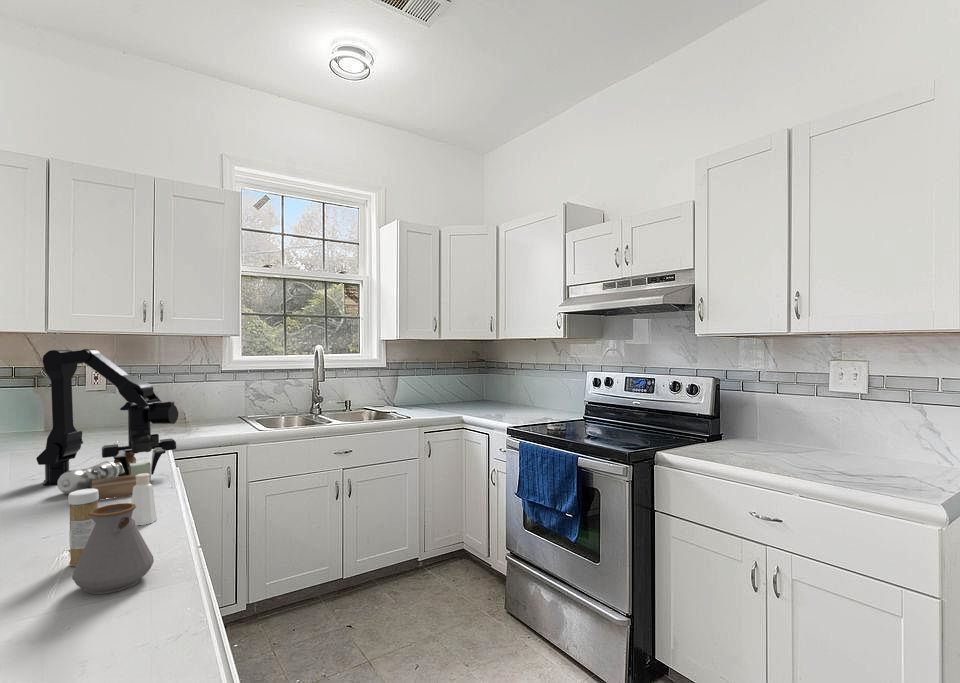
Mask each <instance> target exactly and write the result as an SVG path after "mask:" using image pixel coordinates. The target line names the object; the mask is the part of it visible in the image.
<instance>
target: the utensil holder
mask: <svg viewBox="0 0 960 683" xmlns="http://www.w3.org/2000/svg"><path fill="white" fill-rule="evenodd" d="M116 443H118V444H119V445H118V446H121V447H122V446H124V444H123V442H119V440H116V441H115V442H114V443H113V445H114V444H116ZM125 455H126V459H127V465H128V471H129V475H130V464H133V463H137V459H136V456H135V455H136V453H132V452H125ZM113 462H114V463H118V462H120V461H119V459H113ZM119 476H126V473H125V472H124V473H122V474H120V475H118V476H117V477H119Z"/></svg>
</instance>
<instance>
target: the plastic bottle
mask: <svg viewBox="0 0 960 683" xmlns="http://www.w3.org/2000/svg"><path fill="white" fill-rule="evenodd" d="M124 472H125V471H124V468H123V466H122V464H121V463H120V462H118V463H114V461H110V460H107V461H102V462H100V463H98V464H95V465H92V466H90V467H86V468H82V469H71V470H69V471H68V472H65V473H63V474H62V475H61V476H60V477H59V479H58V482H57V484H56V485H57V489H58V490H59V491H60V492H61V493H64V494H65V495H69V494H70V493H71V492H74V491H77V490H82V489H88V488H89V487H90V488H91V487H92V480H97V479H104V478H112V477H119V476H118V475H120V474H122V473H124Z"/></svg>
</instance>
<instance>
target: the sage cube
mask: <svg viewBox="0 0 960 683" xmlns="http://www.w3.org/2000/svg"><path fill="white" fill-rule="evenodd" d="M143 473H148V474H150V477H149V478H150V479H149V482H150V481H152V475H151V462H150V461H142V462H136V463H133V464H130V475H135V476H136V475H138V474H143Z"/></svg>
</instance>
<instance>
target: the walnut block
mask: <svg viewBox="0 0 960 683" xmlns="http://www.w3.org/2000/svg"><path fill="white" fill-rule="evenodd" d="M134 486H136V477H135V475H127V476H117V477H112V478H104V479H97V480H92V486H91V489H97V490H98V493H99V499H98V500H100V499H106V498H113V499H115V498H114V497H120V498H122V497H121V496H127V497H130V496H129V495H132V493H133V487H134ZM100 501H101V500H100Z"/></svg>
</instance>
